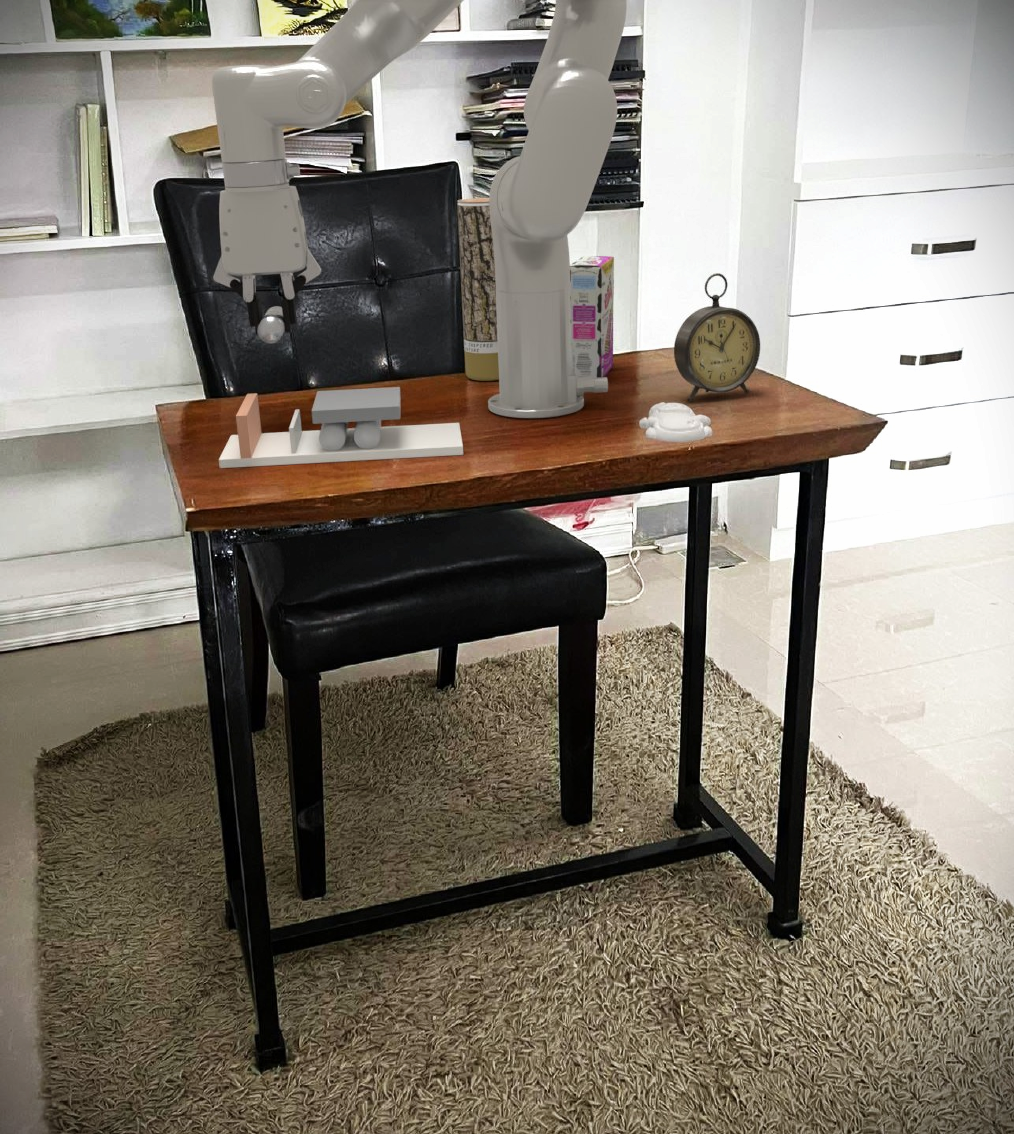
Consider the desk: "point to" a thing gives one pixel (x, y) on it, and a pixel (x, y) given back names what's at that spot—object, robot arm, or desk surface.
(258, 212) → the robot arm
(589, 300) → the candy bar box
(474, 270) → the paper tube
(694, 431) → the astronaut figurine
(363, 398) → the slab
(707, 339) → the alarm clock
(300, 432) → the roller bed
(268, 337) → the roller
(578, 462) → the desk surface
